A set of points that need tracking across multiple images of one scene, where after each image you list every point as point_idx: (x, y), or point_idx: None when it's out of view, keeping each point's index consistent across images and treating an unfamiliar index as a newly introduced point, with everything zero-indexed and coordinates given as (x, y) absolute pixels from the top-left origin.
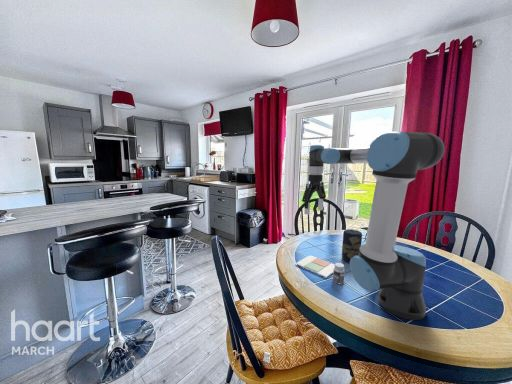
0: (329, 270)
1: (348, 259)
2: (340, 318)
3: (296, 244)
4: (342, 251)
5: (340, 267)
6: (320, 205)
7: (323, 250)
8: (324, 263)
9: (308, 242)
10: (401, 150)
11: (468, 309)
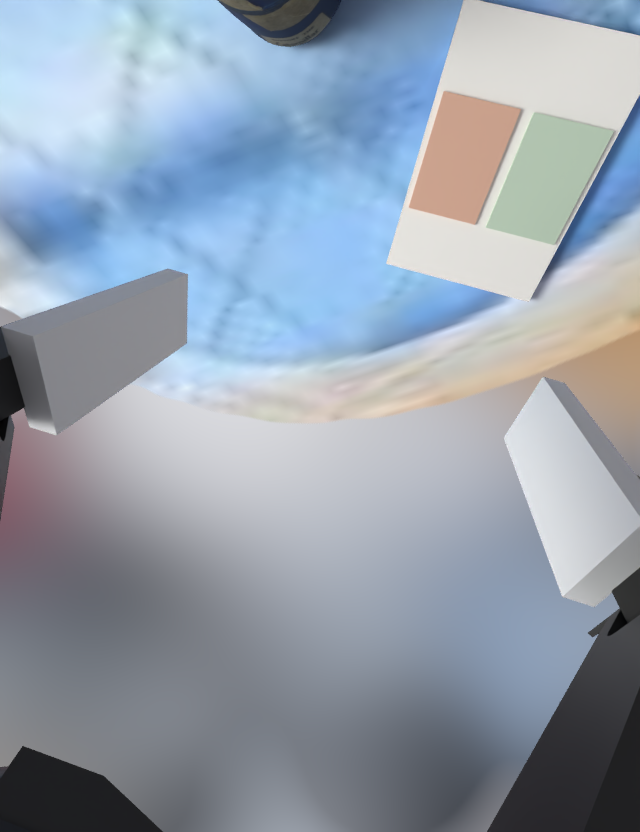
0: (559, 56)
1: None
2: None
3: (280, 376)
4: (307, 16)
5: None
6: (143, 331)
7: (259, 216)
8: (470, 131)
9: (216, 331)
10: None
11: None
